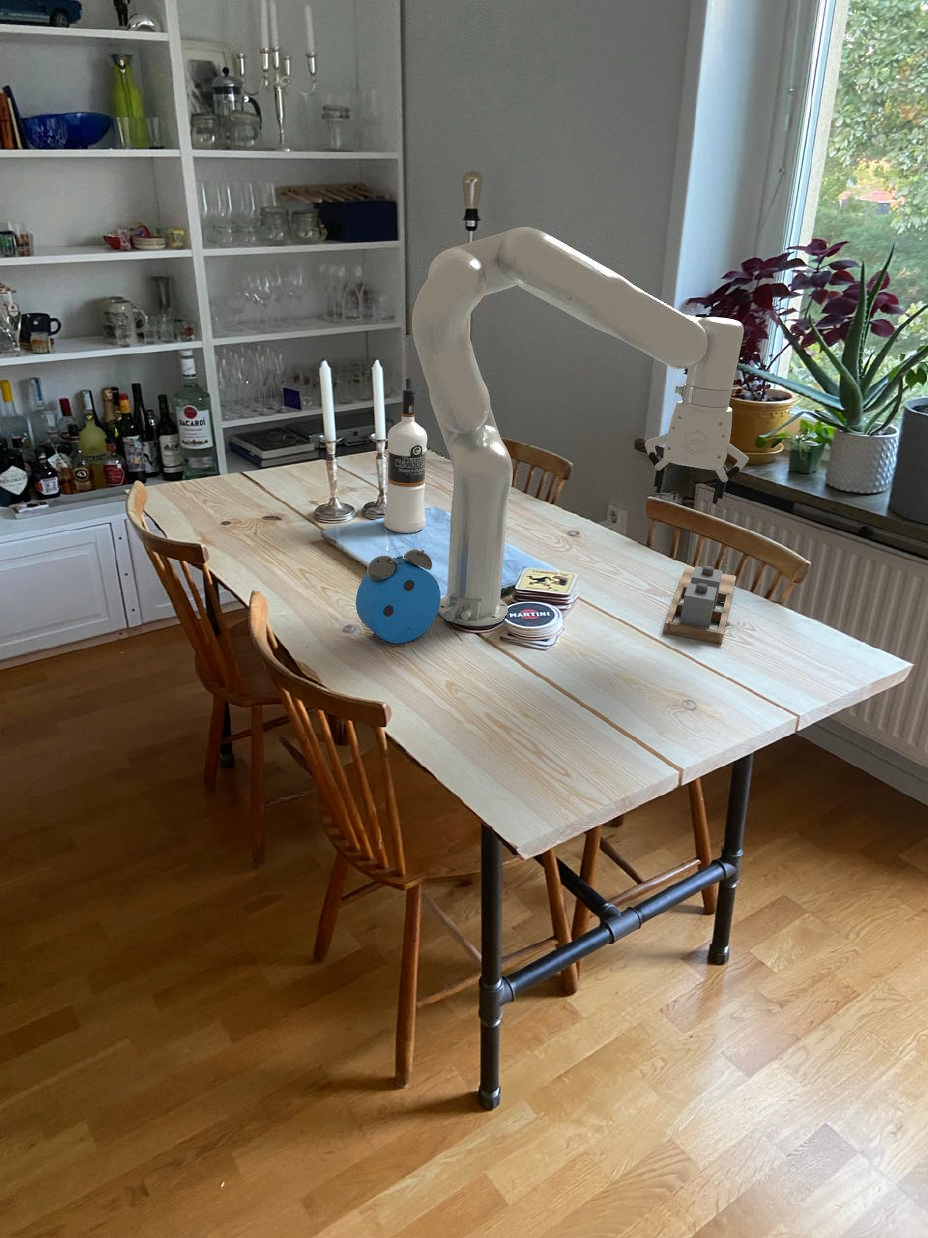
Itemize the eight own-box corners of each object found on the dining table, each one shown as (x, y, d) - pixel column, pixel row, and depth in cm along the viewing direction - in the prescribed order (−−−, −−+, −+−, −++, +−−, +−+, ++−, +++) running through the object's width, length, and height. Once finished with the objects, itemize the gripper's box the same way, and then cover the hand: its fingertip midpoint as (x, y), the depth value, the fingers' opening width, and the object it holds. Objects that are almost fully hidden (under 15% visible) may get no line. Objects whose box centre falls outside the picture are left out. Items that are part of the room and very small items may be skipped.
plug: (706, 637, 159) (715, 594, 155) (678, 631, 160) (685, 588, 156) (710, 623, 164) (718, 581, 160) (682, 618, 165) (689, 576, 162)
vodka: (415, 518, 206) (420, 384, 193) (432, 531, 198) (438, 393, 185) (377, 522, 202) (379, 385, 189) (392, 536, 194) (396, 395, 181)
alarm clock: (420, 622, 157) (424, 540, 151) (440, 636, 153) (444, 553, 146) (354, 638, 150) (354, 554, 144) (373, 653, 146) (374, 567, 139)
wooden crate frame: (721, 644, 156) (724, 629, 155) (663, 632, 159) (665, 618, 158) (734, 585, 180) (737, 572, 179) (683, 576, 183) (686, 563, 182)
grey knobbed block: (712, 617, 166) (720, 575, 163) (685, 611, 168) (692, 570, 164) (716, 604, 171) (723, 564, 168) (689, 599, 173) (696, 559, 169)
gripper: (650, 392, 148) (633, 492, 156) (758, 409, 143) (735, 512, 151) (658, 385, 155) (641, 482, 162) (762, 401, 150) (740, 500, 157)
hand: (687, 496), depth 156 cm, fingers open, 9 cm apart
